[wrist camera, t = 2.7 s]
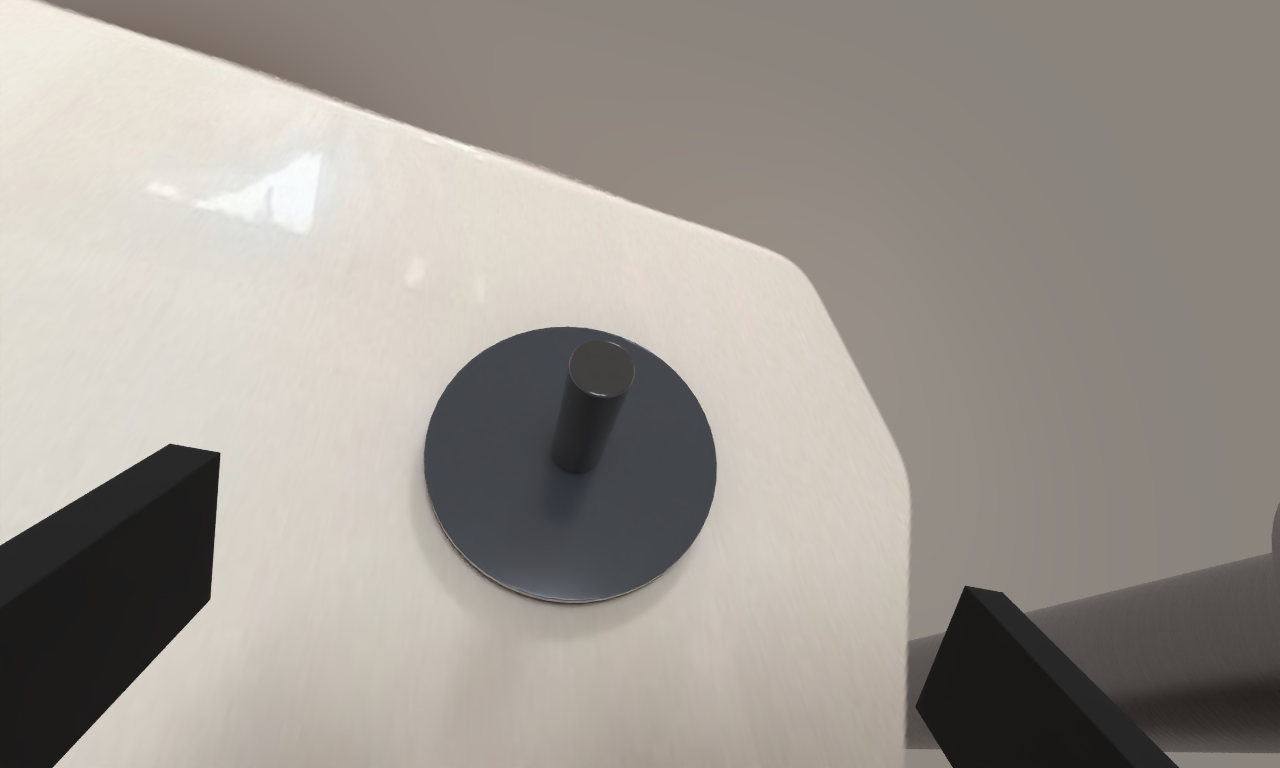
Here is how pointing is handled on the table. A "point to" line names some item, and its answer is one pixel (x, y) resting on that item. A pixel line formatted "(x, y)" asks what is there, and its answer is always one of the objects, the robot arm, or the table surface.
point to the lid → (570, 464)
